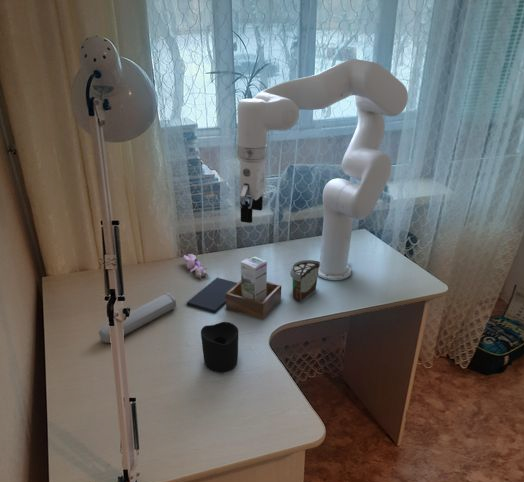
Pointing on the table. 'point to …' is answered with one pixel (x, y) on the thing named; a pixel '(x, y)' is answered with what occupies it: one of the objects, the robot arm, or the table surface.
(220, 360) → the pen holder
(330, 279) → the robot arm
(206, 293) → the mat
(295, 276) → the food container
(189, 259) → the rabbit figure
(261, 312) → the open box
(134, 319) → the tube
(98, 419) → the table surface
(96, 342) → the table surface
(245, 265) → the syrup box
